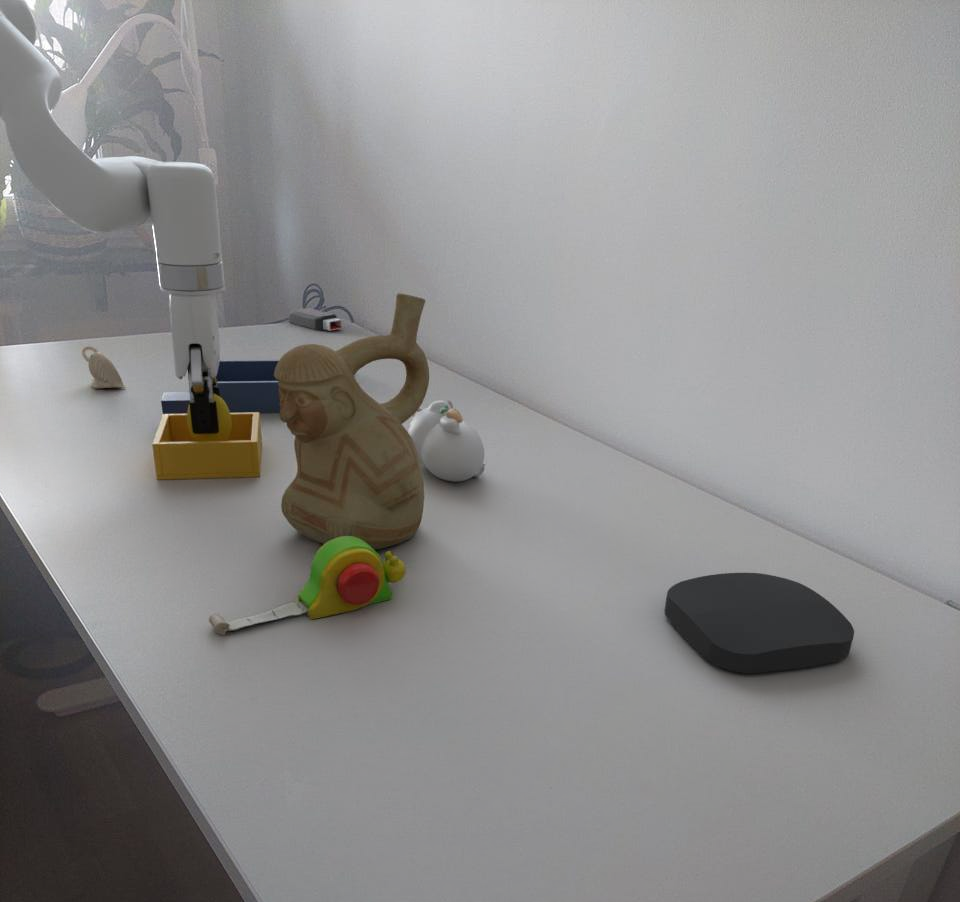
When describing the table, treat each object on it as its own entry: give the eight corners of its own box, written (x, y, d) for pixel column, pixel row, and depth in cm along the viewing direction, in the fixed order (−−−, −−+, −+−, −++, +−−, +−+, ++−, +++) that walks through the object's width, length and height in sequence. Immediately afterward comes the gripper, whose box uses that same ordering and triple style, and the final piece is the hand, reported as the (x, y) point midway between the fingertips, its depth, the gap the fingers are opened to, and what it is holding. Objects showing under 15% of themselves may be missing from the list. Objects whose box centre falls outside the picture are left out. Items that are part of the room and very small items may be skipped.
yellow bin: (157, 479, 121) (152, 444, 118) (167, 447, 131) (162, 413, 129) (260, 476, 123) (257, 441, 120) (262, 444, 133) (259, 412, 131)
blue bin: (201, 413, 145) (198, 383, 142) (207, 388, 156) (204, 360, 154) (294, 412, 147) (292, 382, 145) (293, 387, 158) (291, 359, 156)
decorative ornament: (100, 392, 152) (95, 358, 150) (83, 380, 158) (77, 347, 155) (126, 389, 154) (121, 355, 152) (108, 377, 160) (103, 344, 157)
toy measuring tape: (419, 603, 94) (419, 542, 91) (222, 648, 86) (215, 582, 82) (391, 577, 99) (390, 518, 96) (202, 617, 90) (194, 553, 87)
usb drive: (308, 319, 204) (308, 305, 202) (345, 329, 197) (345, 315, 195) (288, 322, 200) (287, 308, 199) (325, 332, 193) (325, 318, 192)
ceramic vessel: (245, 532, 108) (223, 298, 95) (380, 490, 120) (376, 278, 107) (340, 583, 97) (329, 329, 85) (477, 532, 110) (485, 303, 97)
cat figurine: (482, 417, 116) (427, 372, 127) (429, 457, 116) (378, 408, 126) (510, 472, 123) (455, 426, 133) (460, 510, 123) (409, 460, 133)
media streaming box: (722, 682, 84) (727, 652, 82) (650, 605, 96) (654, 577, 94) (866, 662, 87) (874, 633, 86) (779, 590, 100) (785, 564, 98)
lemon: (182, 450, 126) (174, 389, 122) (218, 442, 130) (212, 382, 126) (205, 461, 123) (199, 398, 119) (242, 452, 126) (237, 391, 123)
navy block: (165, 432, 137) (160, 400, 134) (168, 422, 140) (164, 391, 138) (197, 431, 137) (194, 400, 135) (200, 421, 141) (196, 391, 139)
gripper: (166, 265, 122) (183, 406, 131) (150, 291, 108) (171, 447, 117) (227, 265, 123) (240, 405, 133) (220, 291, 109) (234, 446, 118)
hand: (207, 423), depth 124 cm, fingers closed on lemon, 5 cm apart
